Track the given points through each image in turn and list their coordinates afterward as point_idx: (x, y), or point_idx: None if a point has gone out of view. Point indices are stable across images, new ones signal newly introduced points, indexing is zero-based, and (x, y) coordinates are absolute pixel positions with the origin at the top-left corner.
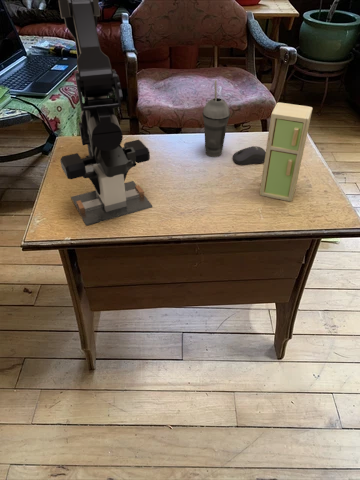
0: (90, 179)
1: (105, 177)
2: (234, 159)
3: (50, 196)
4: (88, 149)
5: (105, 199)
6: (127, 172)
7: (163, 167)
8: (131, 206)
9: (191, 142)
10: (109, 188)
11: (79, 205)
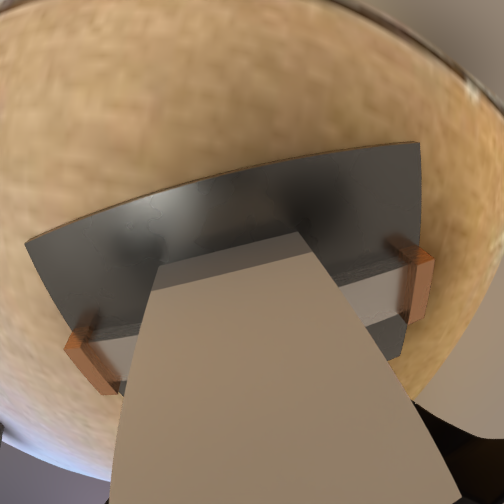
0: (474, 438)
1: None
2: None
3: (436, 354)
4: None
5: (326, 286)
6: (107, 501)
7: (66, 430)
8: (128, 258)
9: (43, 456)
10: (309, 386)
11: (427, 286)
